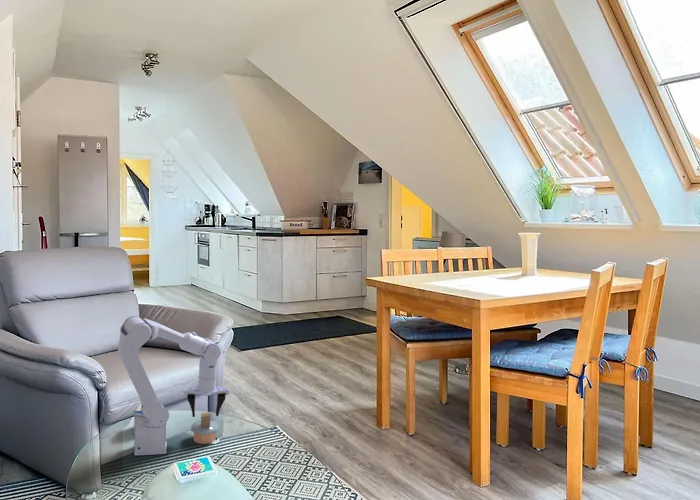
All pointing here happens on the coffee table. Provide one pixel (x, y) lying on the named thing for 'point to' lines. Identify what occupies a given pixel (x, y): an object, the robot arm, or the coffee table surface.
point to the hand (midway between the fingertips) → (205, 415)
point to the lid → (205, 425)
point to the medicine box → (138, 416)
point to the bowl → (204, 438)
